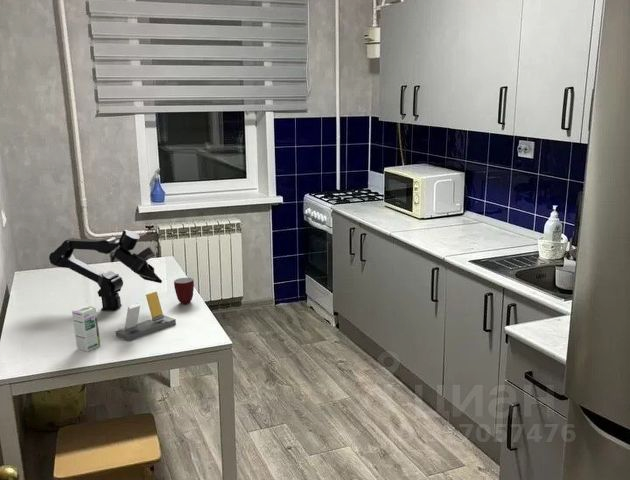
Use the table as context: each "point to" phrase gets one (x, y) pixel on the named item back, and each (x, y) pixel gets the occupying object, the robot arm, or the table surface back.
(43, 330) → the table surface
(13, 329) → the table surface
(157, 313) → the rocker amber
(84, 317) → the syrup box
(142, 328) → the grey switch base
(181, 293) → the mug
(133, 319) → the rocker grey
